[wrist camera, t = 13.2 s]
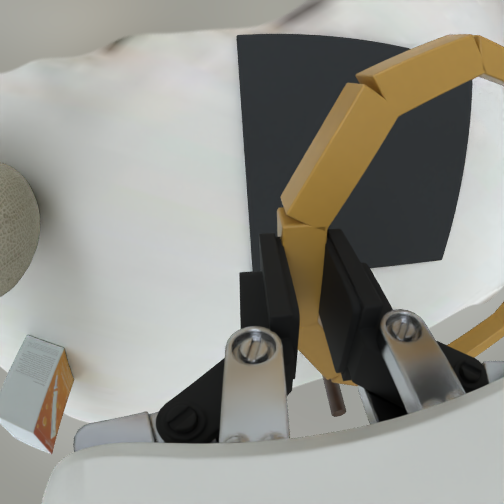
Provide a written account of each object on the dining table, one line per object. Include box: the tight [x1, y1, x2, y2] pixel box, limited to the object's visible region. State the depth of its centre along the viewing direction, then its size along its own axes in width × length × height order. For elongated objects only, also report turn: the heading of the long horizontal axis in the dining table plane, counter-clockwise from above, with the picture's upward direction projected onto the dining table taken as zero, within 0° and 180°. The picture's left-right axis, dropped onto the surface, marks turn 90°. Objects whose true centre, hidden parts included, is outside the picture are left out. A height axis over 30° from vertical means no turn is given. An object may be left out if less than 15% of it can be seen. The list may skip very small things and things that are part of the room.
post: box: [322, 375, 346, 417], centre depth 28 cm, size 4×4×9 cm
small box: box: [0, 335, 74, 454], centre depth 27 cm, size 8×6×13 cm
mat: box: [237, 34, 472, 272], centre depth 21 cm, size 19×19×1 cm
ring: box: [277, 34, 504, 386], centre depth 11 cm, size 18×18×1 cm
